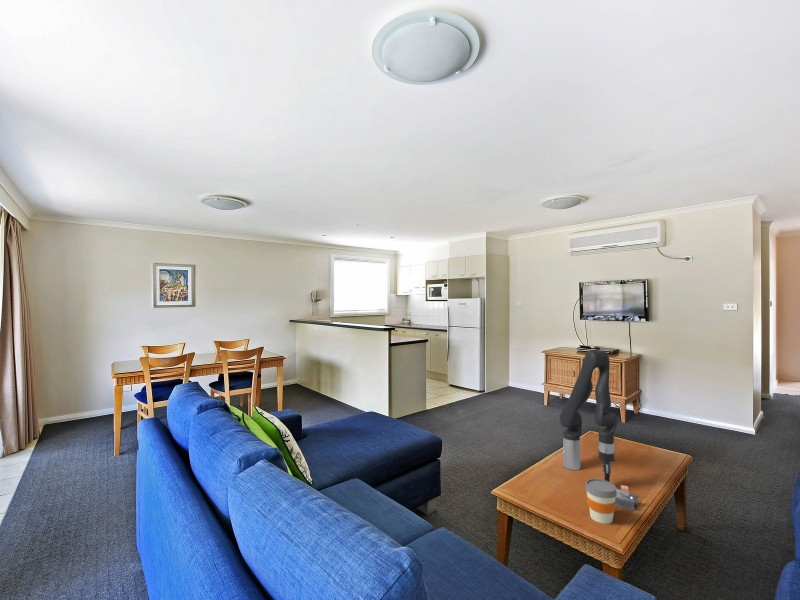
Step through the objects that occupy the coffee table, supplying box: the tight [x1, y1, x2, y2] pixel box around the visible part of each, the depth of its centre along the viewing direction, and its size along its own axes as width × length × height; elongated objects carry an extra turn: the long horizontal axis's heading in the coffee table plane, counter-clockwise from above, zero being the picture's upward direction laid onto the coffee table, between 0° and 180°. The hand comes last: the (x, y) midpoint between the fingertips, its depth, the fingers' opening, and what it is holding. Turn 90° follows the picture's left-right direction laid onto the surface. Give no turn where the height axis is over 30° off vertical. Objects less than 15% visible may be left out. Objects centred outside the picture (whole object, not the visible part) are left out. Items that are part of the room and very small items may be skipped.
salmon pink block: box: [620, 484, 629, 494], centre depth 189 cm, size 3×3×5 cm
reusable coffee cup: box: [585, 478, 617, 525], centre depth 172 cm, size 13×13×15 cm
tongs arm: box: [616, 488, 639, 508], centre depth 188 cm, size 17×4×5 cm, turn 28°
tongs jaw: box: [615, 497, 635, 511], centre depth 182 cm, size 15×3×4 cm, turn 63°
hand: (607, 483), depth 200 cm, fingers closed
